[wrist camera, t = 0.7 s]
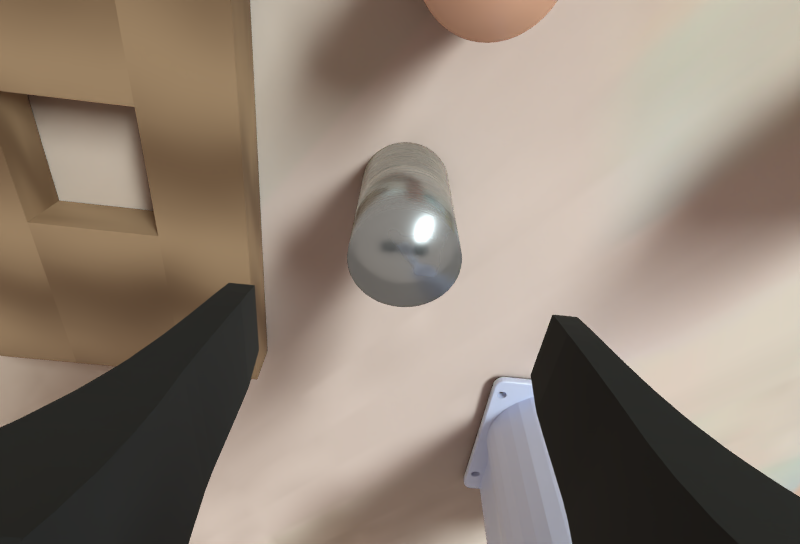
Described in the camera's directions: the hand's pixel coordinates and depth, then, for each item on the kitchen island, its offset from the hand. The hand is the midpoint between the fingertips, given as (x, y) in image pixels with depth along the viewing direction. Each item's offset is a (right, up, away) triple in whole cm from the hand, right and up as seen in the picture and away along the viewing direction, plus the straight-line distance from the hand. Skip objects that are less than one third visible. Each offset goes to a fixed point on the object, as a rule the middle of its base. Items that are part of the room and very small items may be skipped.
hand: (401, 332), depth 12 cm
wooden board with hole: (-12, +6, +7) cm, 15 cm away
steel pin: (0, +5, +8) cm, 9 cm away
